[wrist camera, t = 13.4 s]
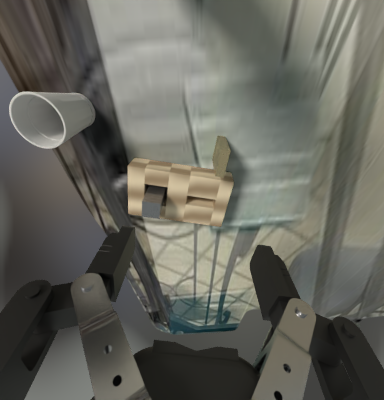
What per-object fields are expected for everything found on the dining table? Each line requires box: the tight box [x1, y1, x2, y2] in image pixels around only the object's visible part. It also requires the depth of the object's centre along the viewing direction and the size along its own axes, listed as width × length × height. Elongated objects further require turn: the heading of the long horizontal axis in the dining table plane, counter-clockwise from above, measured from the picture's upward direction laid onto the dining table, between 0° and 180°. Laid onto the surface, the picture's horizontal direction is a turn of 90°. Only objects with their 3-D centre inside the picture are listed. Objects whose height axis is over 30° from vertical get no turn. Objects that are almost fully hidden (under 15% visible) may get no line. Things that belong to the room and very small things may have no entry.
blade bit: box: [212, 136, 231, 178], centre depth 39 cm, size 5×2×9 cm, turn 171°
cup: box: [9, 92, 95, 149], centre depth 35 cm, size 8×8×12 cm
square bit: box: [142, 185, 167, 218], centre depth 44 cm, size 4×4×10 cm
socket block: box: [128, 157, 234, 227], centre depth 46 cm, size 12×22×5 cm, turn 81°
